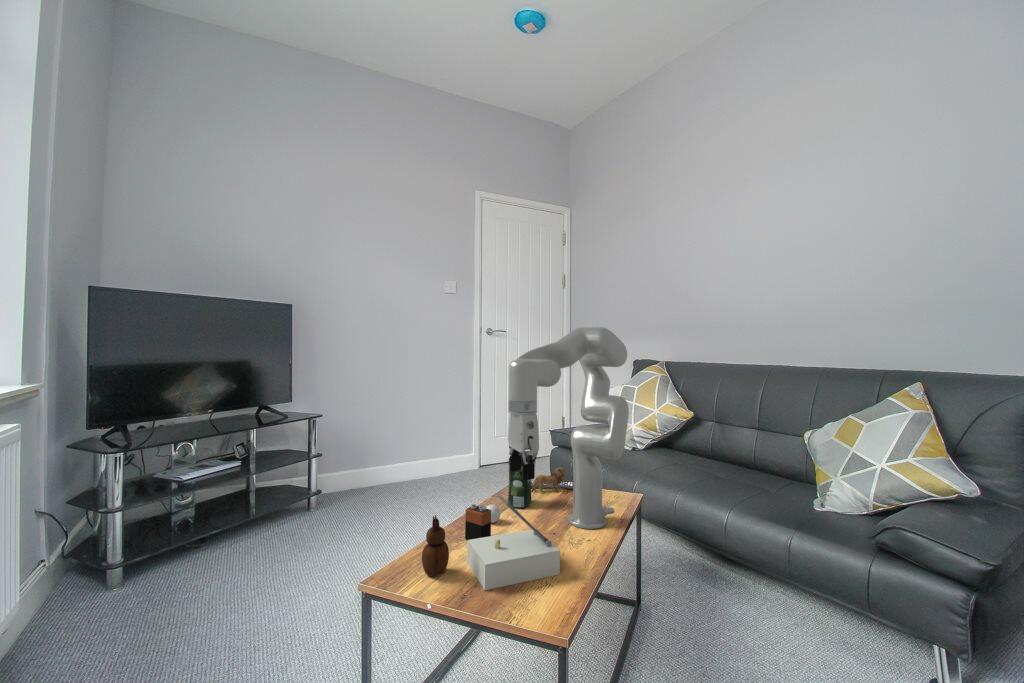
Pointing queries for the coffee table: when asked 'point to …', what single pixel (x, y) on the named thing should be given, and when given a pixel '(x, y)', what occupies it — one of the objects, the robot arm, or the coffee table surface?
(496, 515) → the seamed sphere
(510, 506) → the clasp strap
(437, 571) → the wooden figurine
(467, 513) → the battery
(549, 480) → the lion figurine
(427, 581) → the coffee table surface
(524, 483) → the coffee jar
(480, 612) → the coffee table surface
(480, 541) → the keepsake box
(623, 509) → the coffee table surface
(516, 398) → the robot arm
